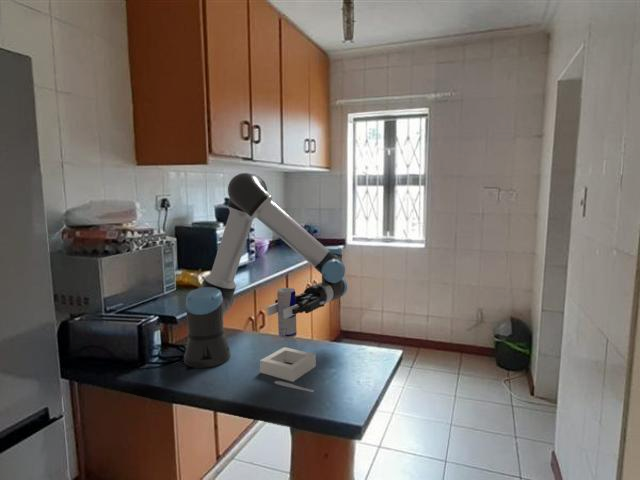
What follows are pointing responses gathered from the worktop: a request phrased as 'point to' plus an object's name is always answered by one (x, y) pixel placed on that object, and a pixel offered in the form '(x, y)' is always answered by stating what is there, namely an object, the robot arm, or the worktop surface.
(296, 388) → the butter knife
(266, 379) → the worktop surface
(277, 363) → the socket block
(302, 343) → the worktop surface
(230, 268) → the robot arm
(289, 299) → the beverage can
